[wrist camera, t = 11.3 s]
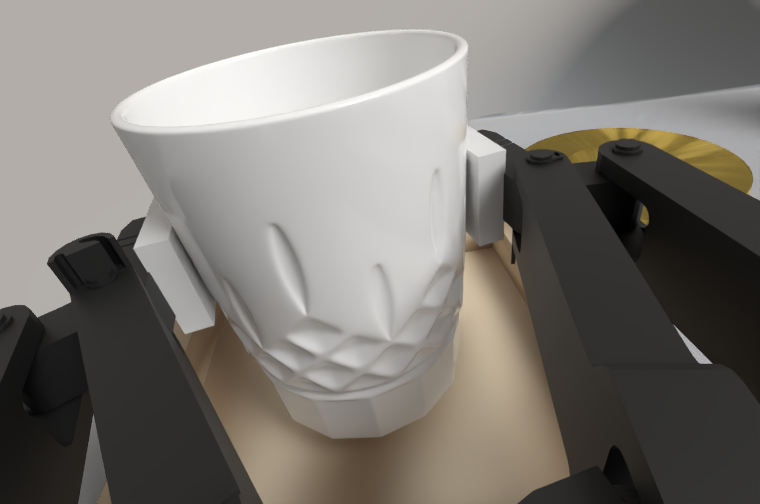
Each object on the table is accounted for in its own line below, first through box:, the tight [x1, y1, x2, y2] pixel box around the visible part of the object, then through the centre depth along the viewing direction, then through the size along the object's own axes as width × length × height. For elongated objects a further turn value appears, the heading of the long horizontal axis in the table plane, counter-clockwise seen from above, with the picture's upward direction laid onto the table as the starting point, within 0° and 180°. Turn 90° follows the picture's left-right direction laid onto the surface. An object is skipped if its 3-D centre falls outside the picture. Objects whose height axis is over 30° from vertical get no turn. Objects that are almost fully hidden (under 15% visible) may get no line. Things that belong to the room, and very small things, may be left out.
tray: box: [96, 221, 570, 504], centre depth 16 cm, size 16×16×2 cm
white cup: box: [110, 29, 468, 439], centre depth 12 cm, size 8×8×10 cm
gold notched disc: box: [525, 128, 753, 225], centre depth 25 cm, size 12×12×2 cm
